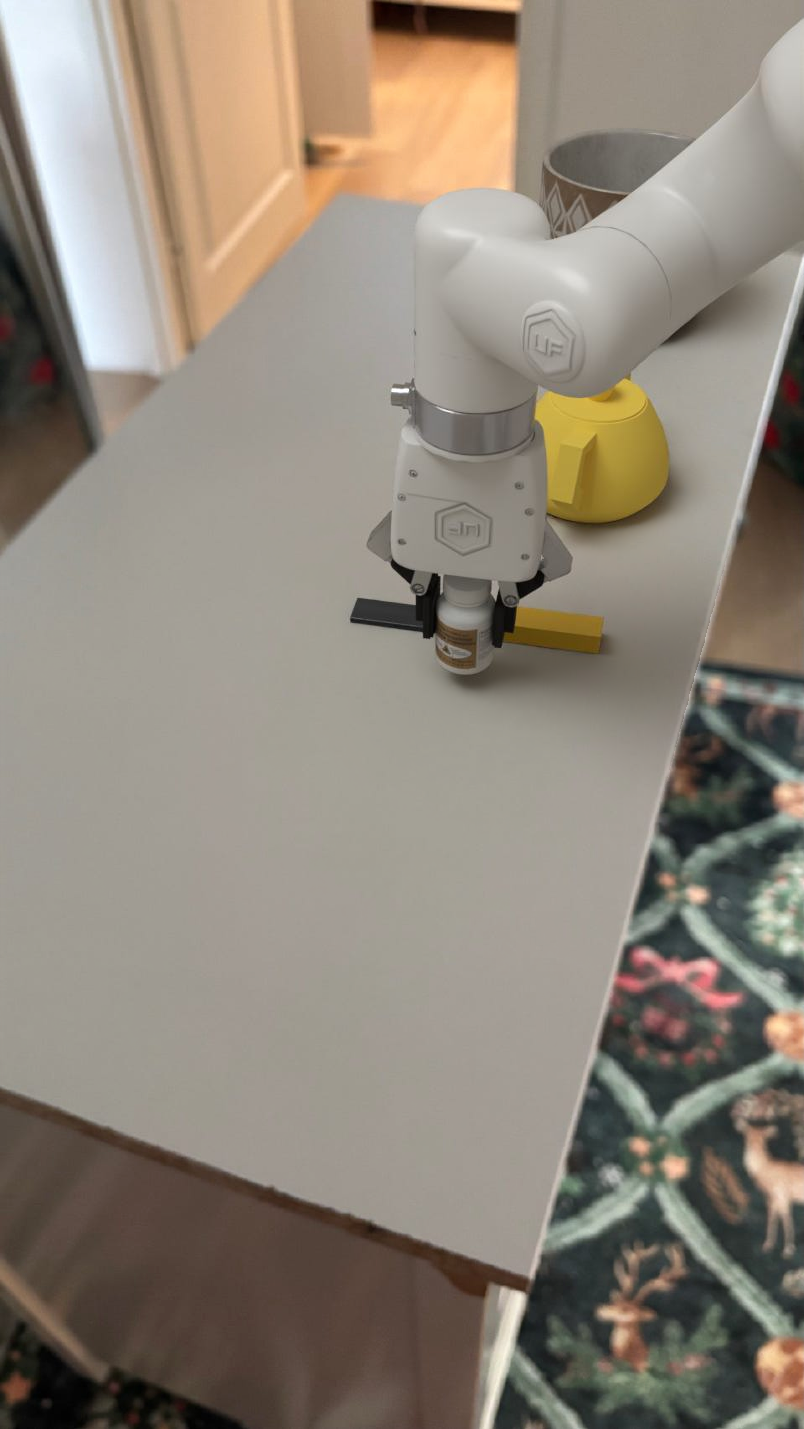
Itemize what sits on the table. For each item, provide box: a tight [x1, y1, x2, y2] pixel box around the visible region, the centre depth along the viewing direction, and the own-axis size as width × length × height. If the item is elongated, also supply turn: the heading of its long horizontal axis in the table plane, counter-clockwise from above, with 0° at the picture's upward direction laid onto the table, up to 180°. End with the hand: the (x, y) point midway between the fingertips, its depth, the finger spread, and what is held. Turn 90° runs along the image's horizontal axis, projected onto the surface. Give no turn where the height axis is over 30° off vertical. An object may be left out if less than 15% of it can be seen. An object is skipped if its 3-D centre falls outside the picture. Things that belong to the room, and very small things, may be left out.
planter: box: [538, 127, 699, 325], centre depth 119 cm, size 19×19×16 cm
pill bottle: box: [434, 574, 496, 676], centre depth 79 cm, size 4×4×8 cm
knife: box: [349, 597, 604, 655], centre depth 86 cm, size 20×3×2 cm, turn 78°
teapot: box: [535, 372, 670, 524], centre depth 97 cm, size 20×18×11 cm
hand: (465, 629), depth 80 cm, fingers closed on pill bottle, 4 cm apart
